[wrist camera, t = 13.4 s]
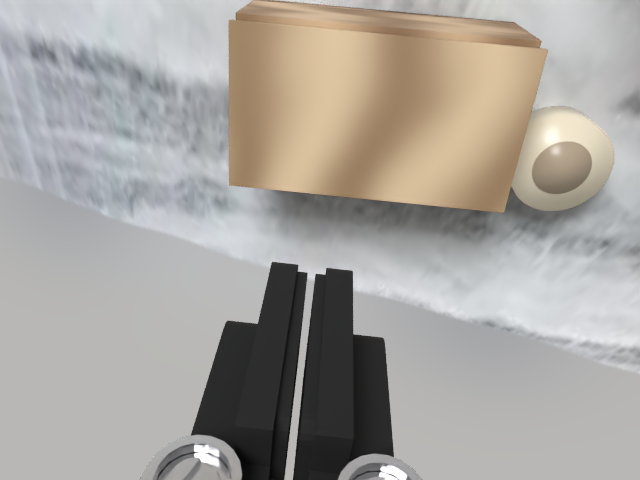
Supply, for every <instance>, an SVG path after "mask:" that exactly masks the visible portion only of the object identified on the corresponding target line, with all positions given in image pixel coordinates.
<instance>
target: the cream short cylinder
mask: <svg viewBox="0 0 640 480" xmlns="http://www.w3.org/2000/svg"><path fill="white" fill-rule="evenodd" d="M613 164H614V148H613V145H612V142H611V140H610V138H609V137H608V135H607V134H606V133H605V132H604V131H603V130H602V129H601V128H600V127H598V126H597V125H596V124H595V123H594V122H593V121H592V120H590V119H589V118H588V117H587V116H586V115H585V114H583V113H582V112H580V111H578V110H576V109H573V108H570V107H565V106H551V107H546V108H542V109H539V110H536V111H534V112H532V113H531V115H530V119H529V123H528V126H527V130H526V134H525V137H524V141H523V145H522V148H521V152H520V156H519V159H518V163H517V167H516V170H515V174H514V178H513V181H512V185H511V187H512V189H513V190H514V192H515V194H516V195H517V197H518V198H519V199H520V200H521V201H522V202H523V203H525V204H526V205H528V206H530V207H532V208H535V209H538V210H542V211H561V210H566V209H570V208H572V207H575V206H578V205H580V204H582V203H584V202H585V201H587V200H588V199H590V198H591V197H592V196H594V195H595V194H596V193H597V192H598V191H599V190H600V189H601V188H602V187H603V185H604V184H605V183H606V181H607V180H608V178H609V176H610V174H611V171H612V168H613Z"/></svg>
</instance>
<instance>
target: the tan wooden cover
mask: <svg viewBox="0 0 640 480" xmlns="http://www.w3.org/2000/svg"><path fill="white" fill-rule="evenodd" d="M547 53H548V50H547V49H543V48H532V47H521V46H510V45H500V44H489V43H478V42H467V41H456V40H445V39H435V38H424V37H413V36H402V35H391V34H381V33H370V32H359V31H348V30H337V29H326V28H316V27H305V26H294V25H283V24H272V23H262V22H251V21H240V20H229V185H231V186H241V187H251V188H261V189H271V190H281V191H291V192H301V193H311V194H321V195H331V196H341V197H351V198H361V199H371V200H381V201H391V202H401V203H411V204H421V205H431V206H441V207H451V208H461V209H471V210H481V211H491V212H501V213H504V211H505V207H506V204H507V200H508V196H509V193H510V189H511V185H512V181H513V178H514V174H515V170H516V167H517V163H518V159H519V156H520V152H521V148H522V145H523V141H524V137H525V134H526V130H527V126H528V123H529V119H530V115H531V112H532V108H533V104H534V100H535V97H536V93H537V89H538V86H539V82H540V78H541V75H542V71H543V67H544V64H545V60H546V56H547Z"/></svg>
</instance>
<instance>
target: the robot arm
mask: <svg viewBox="0 0 640 480" xmlns="http://www.w3.org/2000/svg"><path fill="white" fill-rule="evenodd" d="M306 282H307V273H304V272H298V265H295V264H286V263H277V262H272V265H271V269H270V273H269V278H268V282H267V287H266V291H265V295H264V300H263V304H262V308H261V313H260V317H259V322H258V324H252V323H243V322H235V321H227V322H226V324H225V327H224V329H223V333H222V336H221V339H220V342H219V346H218V349H217V352H216V355H215V359H214V362H213V365H212V369H211V372H210V375H209V378H208V381H207V385H206V388H205V391H204V395H203V398H202V401H201V405H200V408H199V411H198V414H197V417H196V421H195V424H194V427H193V430H192V434H191V436H186V437H182V438H179V439H177V440H175V441H173V442H170V443H168V444H167V445H166V446H165V447H163V448H162V449H161V450H160V451H158V452H157V453H156V454H155V455H154V457H153V458H152V460H151V461H150V462H149V464H148V465H147V467H146V469H145V470H144V472H143V474H142V476H141V478H140V480H284V476H285V468H286V459H287V451H288V442H289V434H290V425H291V417H292V409H293V399H294V391H295V383H296V374H297V366H298V365H297V364H298V356H299V347H300V338H301V329H302V318H303V310H304V300H305V291H306ZM293 480H422V479H421V478H420V476H419V475H418V474H417V473H416V471H415V470H414V469H413V468H411V467H410V466H408V465H407V464H406V463H404V462H403V461H401V460H399V459H396V458H394V453H393V440H392V428H391V415H390V403H389V390H388V377H387V364H386V353H385V342H384V339H383V338H380V337H371V336H362V335H353V272H352V271H349V270H340V269H331V268H327V269H326V275H322V274H316V276H315V285H314V293H313V301H312V309H311V318H310V327H309V335H308V343H307V352H306V360H305V369H304V378H303V387H302V397H301V407H300V417H299V427H298V436H297V446H296V456H295V466H294V476H293Z"/></svg>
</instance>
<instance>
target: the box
mask: <svg viewBox="0 0 640 480" xmlns="http://www.w3.org/2000/svg"><path fill="white" fill-rule="evenodd" d="M236 20H240V21H251V22H262V23H272V24H283V25H294V26H305V27H316V28H326V29H337V30H348V31H359V32H370V33H381V34H391V35H402V36H413V37H424V38H435V39H445V40H456V41H467V42H478V43H489V44H500V45H510V46H521V47H532V48H540V45H541V42H542V41H541V40H539V39H538V38H536V37H535V36H533V35H532V34H530V33H529V32H528V31H526V30H525V29H523V28H522V27H520V26H519V25H517V24H516V23H514V22H504V21H493V20H482V19H471V18H460V17H449V16H438V15H427V14H416V13H405V12H394V11H383V10H373V9H362V8H351V7H340V6H329V5H318V4H307V3H296V2H285V1H274V0H253V1H252V2H250V3H249V4H248V5H246V6H245V7H243V8H242V9H241V10H239V11H238V12H236Z"/></svg>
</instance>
